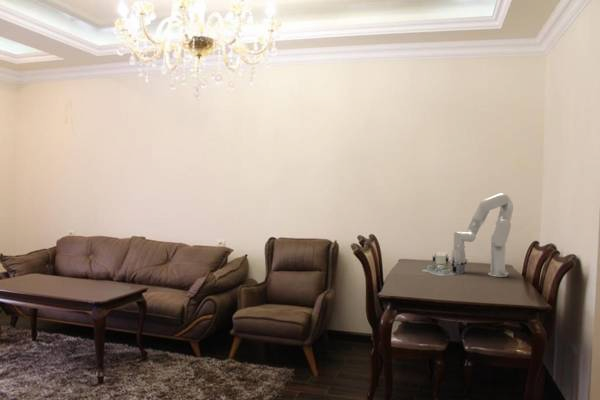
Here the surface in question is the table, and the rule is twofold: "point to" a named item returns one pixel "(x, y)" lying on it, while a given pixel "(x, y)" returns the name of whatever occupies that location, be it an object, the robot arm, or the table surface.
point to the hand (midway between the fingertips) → (458, 271)
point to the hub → (459, 268)
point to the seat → (438, 271)
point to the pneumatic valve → (440, 260)
